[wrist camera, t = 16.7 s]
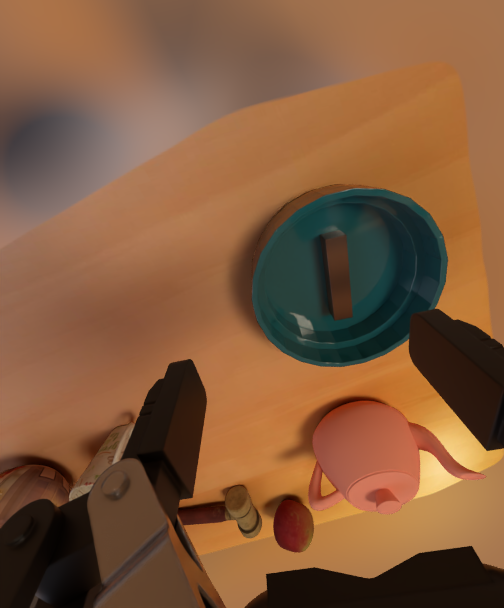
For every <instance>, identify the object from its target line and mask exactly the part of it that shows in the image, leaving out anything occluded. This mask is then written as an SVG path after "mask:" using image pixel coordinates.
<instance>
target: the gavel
mask: <svg viewBox="0 0 504 608" xmlns="http://www.w3.org/2000/svg"><path fill="white" fill-rule="evenodd" d="M225 505H226V507H225V506H215V507H205V508H194V509H183V510H178V512H177V514H178V516H179V518H180V520H181V522H182V524H183V525H193V524H205V523H217V522H223V521H226V520H236V521H237V523H238V527H239V529H240V531H241V533H242V534H243V536H244V537H246V538H253V537H255V536H257V535H258V534H259V532H260V530H261V527H262V519H261V517H260V515H259V513H258V511H257V510H256V509H255V508H254V507H253V505H252V503H251V497H250V495H249V493H248V491H247V489H246V488H245V487H243V486H240V485H238V486H234V487H233V488H231V489H230V490H229V491H228V493H227V495H226V498H225Z"/></svg>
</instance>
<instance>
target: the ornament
mask: <svg viewBox="0 0 504 608" xmlns="http://www.w3.org/2000/svg"><path fill="white" fill-rule="evenodd" d="M70 492H71V491H70V488H69V485H68V483H67V481H66V479H65V478H64V477H63V476H62V475H61V474H60V473H59V472H58V471H56V470H55V469H53V468H50V467H47V466H43V465H25V466H20V467H16V468H13V469H10V470H7V471H5V472H3V473H1V474H0V528H1V527H2V526H3V525H4V523H5V522H6V521H7V520H8V519H9V518H10V517H11V516H12V515H13V514H15V513H16V512H17V511H18V510H20V509H21V508H22V507H24V506H25V505H27V504H29V503H31V502H33V501H35V500H38V499H48V500H50V501H51V502H53V503H54V504H55V505H56V506H57V507H59V506H61V505H63V504H65V503H67V502H69V495H70Z"/></svg>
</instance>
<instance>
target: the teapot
mask: <svg viewBox="0 0 504 608" xmlns="http://www.w3.org/2000/svg"><path fill="white" fill-rule="evenodd" d="M312 444H313V449H314V453H315V456H316V458H317V462H316V465H315V468H314V471H313V474H312V478H311V481H310V485H309V493H308V497H309V503H310V506H311V507H312V508H313V509H314V510H317V511H320V510H324V509H327V508H329V507H331V506H333V505H335V504H336V503H338V502H340V501H341V500H343V499H344V498H345V499H346V500H347V501H348V502H350V503H351V504H352V505H353V506H354V507H356V508H358V509H360V510H364V511H378V512H379V513H381V514H393V513H395V512H397V511H399V510H400V509H401V507H402V505H403V504H405V503H407V502H409V501H410V500H411V499H413V498H414V497H415V495H416V494H417V492H418V490H419V483H420V455H419V449H420V450H424V451H428V452H430V453H431V454H433V455H434V456H435V457H436V458H437V459H438V461H439V462H440V463H441V465H442V466H443V467H444V468H445V469H446V470H447V471H448V472H449V473H450V474H452V475H453V476H455V477H457V478H460V479H465V480H477V479H478V480H479V479H484V478H486V476H485V475H483V474H481V473H477V472H474V471H472V470H469V469H467V468H465V467H463V466H461V465H460V464H459V463H458V462H456V461H455V460H454V459H453V458H452V456H451V455H450V454H449V453H448V452H447V450H446V449H445V448H444V446H443V445H442V444H441V442H440V441H439V440H438V439H437V437H436V436H435V435H434V434H433V433H432V432H430V431H429V430H428V429H426V428H425V427H423V426H420V425H418V424H414V423H410V422H408V421H407V419H406V418H405V416H404V415H403V414H401V413H400V412H399V411H398V410H396V409H395V408H393V407H391V406H388V405H386V404H383V403H379V402H375V401H356V402H351V403H347V404H344V405H342V406H340V407H337V408H336V409H334V410H332V411H331V412H329V413H328V414H327V415H326V416H325V417H324V418H323V419H322V420H321V422H320V423H319V424H318V426H317V428H316V430H315V432H314V435H313V441H312ZM322 472H324V474H325V475H326V477H327V478H328V480H329V481H330V482H331V483H332V485H333V486H334V487H335V488H336V489H337V490H336V491H334V492H333V493H331V494H329V495H327V496H324V497H322V496H321V478H322Z"/></svg>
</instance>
